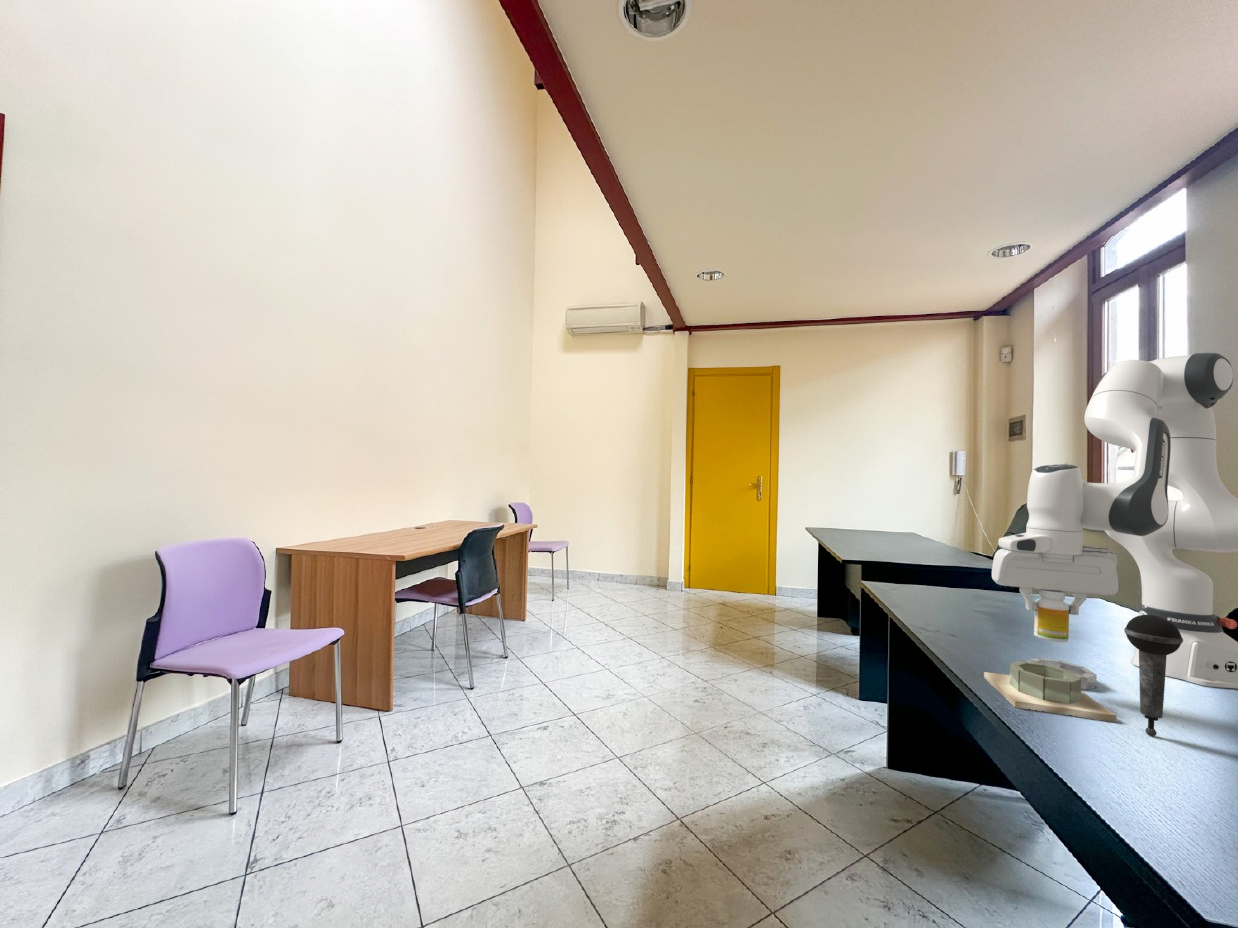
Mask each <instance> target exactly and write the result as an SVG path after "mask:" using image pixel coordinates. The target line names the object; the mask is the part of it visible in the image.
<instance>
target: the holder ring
mask: <svg viewBox="0 0 1238 928" xmlns="http://www.w3.org/2000/svg"><path fill="white" fill-rule="evenodd" d="M1026 661H1027V662H1035V663H1043V664H1047V665H1051V666H1054V667H1058V668H1061V669H1065V670H1068V671H1071V672H1072V673H1074V674H1075V675H1077V676H1078V677H1080V678H1081V691H1082V690H1083V691H1084V690H1085V691H1089V690H1090V689H1094V688H1096V687H1097V673H1095V672H1093V671H1091V670H1090V669H1088V668H1086V667H1085V666H1081V665H1078V664H1074V663H1070V662H1067V661H1063V660H1059V659H1058V660H1057V659H1051V658H1045V657H1044V658H1041V657H1034V658H1030V659H1027V660H1026Z"/></svg>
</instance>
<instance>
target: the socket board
mask: <svg viewBox="0 0 1238 928" xmlns="http://www.w3.org/2000/svg"><path fill="white" fill-rule="evenodd" d="M1009 665H1010V666H1009V674H1002V673H995V672H988V671H987V672H986V671H984V672H983V678H984V679H985V680H986V681H987V682H988V683H989V684H990V685H991V686H992V687H993V688H994V689H995V690H996V691H997V692H998V693H1000V695H1001V696H1003V698H1004V699H1005V700H1006V701H1008V702H1009V703H1010V705H1012V706H1013V707H1014V708H1015V709H1016V708H1017V709H1023V710H1028V709H1031V711H1035V710H1037V712H1042V711H1045V712H1044V713H1051V714H1056V715H1063V714H1067V715H1066V716H1069V715H1072V716H1071V717H1076V716H1077V717H1078V718H1084V719H1092V720H1098V721H1105V722H1112V723H1117V714H1115V713H1113V712H1112V711H1111V710H1110V709H1108V708H1106V707H1105V706H1104V705H1102V704H1101V703H1099V702H1098V701H1097V700H1095V699H1093V698H1092V697H1090V696H1089V695H1088V694H1086V693H1085V692H1083V691H1082V689H1081V678H1080V677H1078V676H1077V675H1075V674H1074V673H1072V672H1071V671H1068V670H1065V669H1061V668H1058V667H1054V666H1051V665H1047V664H1043V663H1035V662H1027V660H1026V661H1024V660H1017V661H1014V662H1011V663H1009ZM1077 717H1076V718H1077Z"/></svg>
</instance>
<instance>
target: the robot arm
mask: <svg viewBox="0 0 1238 928" xmlns="http://www.w3.org/2000/svg"><path fill="white" fill-rule="evenodd" d="M1233 382H1234V371H1233V366H1232V364H1231V362H1230V361H1229V360H1228V359H1227V358H1226V357H1225V356H1223V355H1222V354H1220V353H1216V352H1198V353H1197V352H1196V353H1193V354H1189V355H1177V356H1169V357H1161V358H1156V359H1153V360H1150V361H1147V360H1143V359H1128V360H1124V361H1121V362H1119V363H1117V364H1115V365H1112V367H1110V369H1109V370H1107V371H1106V372H1105V373H1103V375H1102V376H1101V377H1100V378H1099V380H1098V381H1097V384H1096V388H1095V389H1094V391H1093V393H1092V396H1091V397H1090V400H1089V401H1088V404H1087V406H1086V408H1085V412H1084V419H1083V420H1084V423H1085V424H1084V425H1085V426H1086V429H1087V430H1088V432H1090V433H1091V434H1092V435H1093V436H1094V437H1096V438H1097V439H1099V440H1101V441H1102V442H1105V443H1108V444H1110V445H1113V446H1118V447H1122V448H1126V449H1129V450H1133V451H1135V460H1134V467H1133V474H1132V475H1133V476H1132V478H1131V479H1130V480H1128V481H1125V482H1120V483H1119V482H1118V483H1115V482H1113V483H1111V482H1110V483H1109V482H1108V483H1107V482H1106V483H1104V482H1103V483H1102V482H1090V481H1089V482H1088V481H1086V480H1084V479H1083V476H1082V471H1081V468H1080V467H1079V466H1076V465H1075V464H1062V463H1061V464H1048V465H1040V466H1038V467H1036V468H1035V467H1034V468H1033V469H1032V471H1031V474H1030V477H1029V481H1028V486H1027V493H1026V495H1027V497H1026V508H1027V511H1028V521H1027V522H1026V528H1025V529H1026V530H1025V532H1022V533H1017V534H1013V535H1007V536H1002V537H1000V538H998V541H997V544H998V547H999V548H1000V549H997V551H996V552H995V553H994V556H993V561H992V566H991V578H992V580H993V581H994V582H995V583H996V584H997V585H1000V586H1004V587H1005V586H1006V587H1015V588H1019V593H1020V594H1021V596H1022V597H1023V599H1024V600H1025V608H1026V609H1025V610H1028V611H1034V612H1035V611H1038V602H1036V600H1034V599H1033V598H1032V597H1031V596H1030V594H1033V589H1035V590H1036V589H1037V590H1040V589H1046V590H1057V591H1063V592H1070V593H1072V595H1071V596H1073V597H1074V598H1073V600H1072V601H1071V602H1070V603H1067V604H1068V606H1069V615H1072V616H1079V614H1080V607H1081V606H1082V605H1083V604H1084V602H1085V601H1086V600H1087V594H1090V595H1091V594H1093V595H1100V596H1101V595H1102V596H1115V595H1116V594H1117V593H1118V592H1119V580H1118V579H1119V578H1118V573H1117V566H1118V557H1117V555H1116V553H1115V552H1114V551H1112V550H1111V549H1109V548H1107V547H1101V546H1099V547H1097V546H1089V545H1088V546H1087V545H1084V542H1083V541H1084V533H1083V532H1084V529H1087V530H1092V531H1093V530H1094V531H1104V532H1105V534H1107V536H1108V537H1109V538H1111V539H1112V540H1114V541H1115V542H1116V543H1118V544H1120V546H1122V547H1123V548H1124V549H1126V551H1128V552H1129V554H1130V555H1131V557H1132V558H1133V560H1134V561H1135V563H1136V565H1137V567H1138V570H1139V574H1140V585H1141V602H1140V603H1139V605H1138V616H1140V615H1156V616H1159V617H1162V618H1164V619H1166V620H1168V621H1170V622H1171V623H1172V624H1174V625H1175V626H1176V627H1177V629H1178V630H1179V632H1180V634H1181V637H1182V638H1183V642H1182V643H1181V645H1180V647H1179V649H1178V650H1177V651H1175V652H1174V653H1172V654H1169V655H1167V658H1166V673H1165V677H1170V678H1175V679H1179V680H1183V681H1186V682H1188V683H1189V682H1190V683H1192V684H1193V683H1194V684H1196V685H1200V686H1204V687H1212V688H1213V687H1214V688H1225V689H1227V688H1228V689H1238V641H1237V640H1235V639H1234V638H1232V637H1231V636H1229V635H1228V634H1226V632H1224V629H1223V627H1224V628H1227V629H1230V630H1234V629H1235V628H1237V627H1238V622H1236V620H1234V619H1232V618H1231V619H1230V618H1228V617H1222V618H1221V617H1219V616H1218V615H1216V614H1214V613H1213V612H1214V610H1213V609H1214V606H1213V604H1214V583H1213V580H1212V578H1211V577H1210V576H1209V575H1208V574H1207V573H1205V572H1204V571H1202V570H1200V569H1199V568H1196V567H1194V566H1192V565H1190V564H1187V563H1185V562H1183V561H1181V560H1179V559H1178V558H1177V557H1176V556H1175V555H1174V553H1173V550H1174V549H1176V550H1177V549H1180V550H1182V549H1183V550H1192V551H1203V552H1213V553H1238V498H1237V497H1236V496H1234V495H1233V494H1232V493H1231V492H1230V491H1229V490H1228V489H1227V487H1226V486H1225V485H1224V483H1223V481H1222V479H1221V478H1220V475H1219V469H1218V460H1217V425H1216V418H1215V413H1214V410H1213V407H1214V406H1215V405H1216V404H1217V402H1218V401H1219V400H1221V399H1223V397H1225V395H1226V394H1227V393H1228V392H1229V391H1230V389H1231V388H1232V386H1233ZM1168 487H1172V488H1174V489H1177V490H1179V491H1180V492H1181V493H1182V495H1183V498H1182V499H1180V500H1179V499H1178V500H1171V499H1170V500H1169V496H1168V489H1169V488H1168ZM1130 663H1131V664H1133V665H1135V666H1137V667H1138V668H1139V649H1137V648H1136V647H1135V650H1134V653H1133V655H1132V658H1131V659H1130Z"/></svg>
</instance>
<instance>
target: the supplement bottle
mask: <svg viewBox="0 0 1238 928" xmlns="http://www.w3.org/2000/svg"><path fill="white" fill-rule="evenodd" d="M1038 592H1039V593H1038V594H1039V596H1040V598H1038V599H1036V600H1035V601H1036V602H1038V611H1034V613H1033V614H1034V616H1033V618H1034V619H1033V622H1034V623H1033V635H1034V636H1035V637H1036V638H1039V639H1042V640H1045V641H1049V642H1053V643H1054V642H1055V643H1067V642H1068V641H1069V637H1070V636H1069V635H1070V634H1069V629H1070V627H1069V626H1070V623H1069V622H1070V614H1069V606H1068V604H1069V603H1066V602H1065V600H1066V591H1057V590H1046V589H1039V591H1038Z"/></svg>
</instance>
